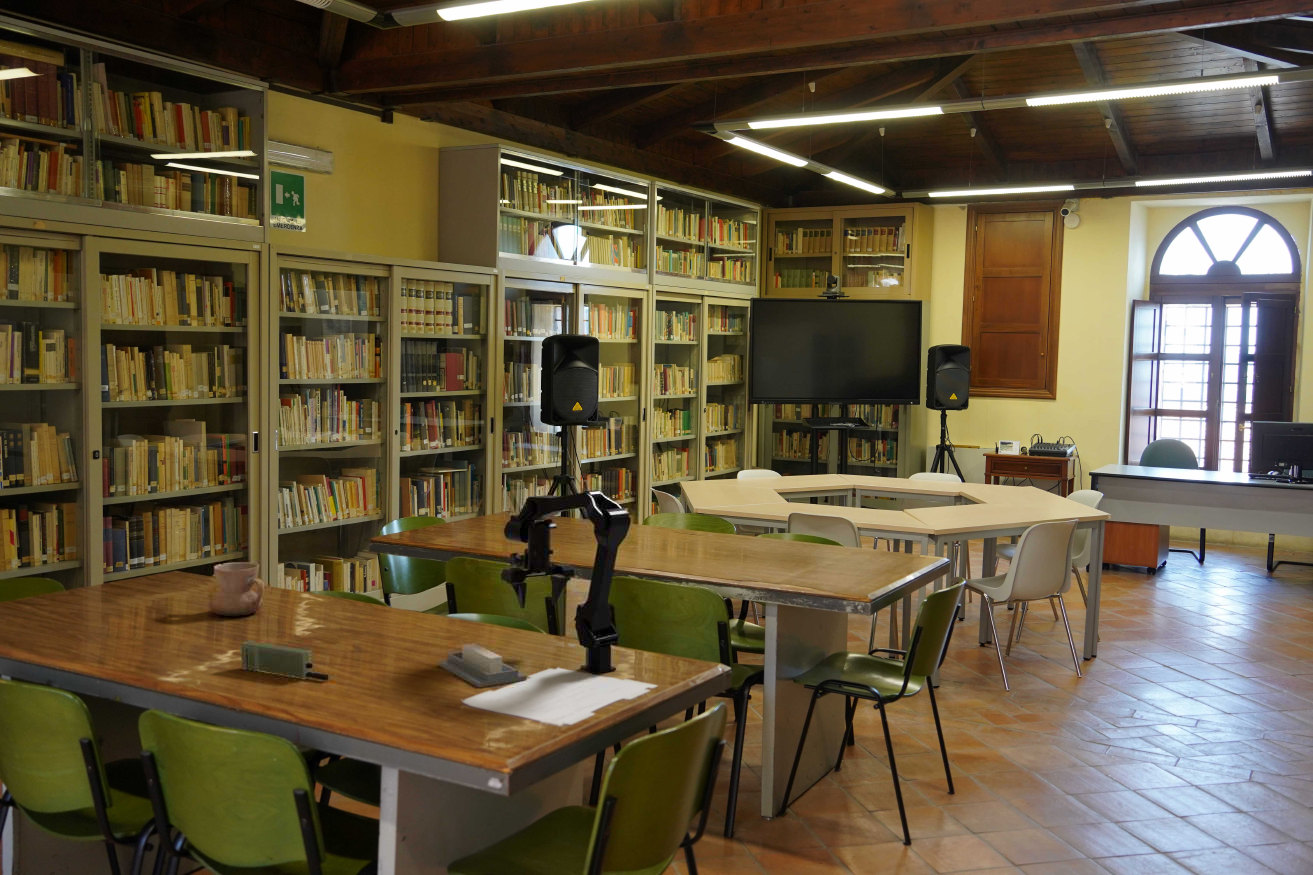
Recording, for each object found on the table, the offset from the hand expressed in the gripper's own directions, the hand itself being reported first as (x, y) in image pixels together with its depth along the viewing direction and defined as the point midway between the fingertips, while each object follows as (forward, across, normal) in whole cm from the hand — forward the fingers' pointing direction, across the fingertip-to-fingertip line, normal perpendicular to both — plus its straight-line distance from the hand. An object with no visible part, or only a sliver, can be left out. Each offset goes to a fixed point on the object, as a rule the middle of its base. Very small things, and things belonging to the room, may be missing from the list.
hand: (538, 606), depth 269 cm
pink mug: (+12, +49, -86) cm, 100 cm away
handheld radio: (+13, +59, -15) cm, 62 cm away
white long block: (+11, +20, +8) cm, 24 cm away
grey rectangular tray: (+12, +20, +8) cm, 25 cm away
